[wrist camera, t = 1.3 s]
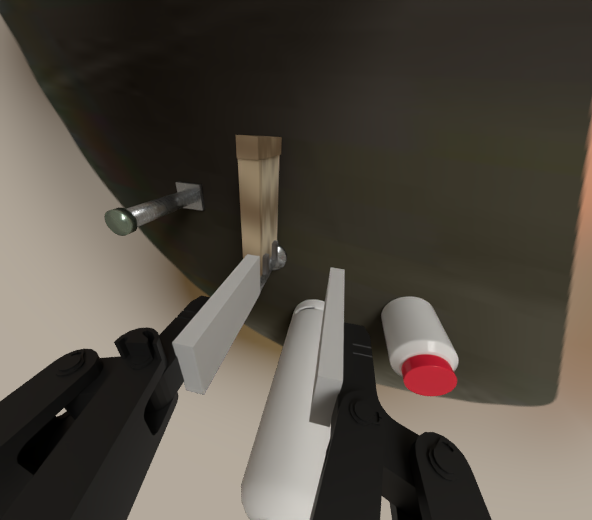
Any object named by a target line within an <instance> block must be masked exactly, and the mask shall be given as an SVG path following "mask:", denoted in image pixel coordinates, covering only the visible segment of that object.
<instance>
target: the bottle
mask: <svg viewBox="0 0 592 520" xmlns="http://www.w3.org/2000/svg"><path fill="white" fill-rule="evenodd" d="M324 304H325V302H324V301H320V300H306V301H303V302H301V303H300V304H299V305H297V306H296V308H295V310H294V312H293V316H292V320H291V322H290V326H289V329H288V332H287V335H286V339H285V342H284V345H283V349H282V352H281V355H280V359H279V362H278V365H277V369H276V372H275V375H274V378H273V382H272V385H271V389H270V392H269V395H268V398H267V402H266V405H265V409H264V411H263V415H262V418H261V422H260V425H259V428H258V432H257V435H256V438H255V442H254V445H253V448H252V451H251V454H250V458H249V462H248V464H247V468H246V471H245V474H244V478H243V481H242V484H241V488H242V489H241V493H242V494H241V497H242V504H243V506H244V509H245V512H246V514H247V515H248V517H249V519H250V520H310V516H311V512H312V507H313V503H314V499H315V495H316V491H317V487H318V483H319V479H320V475H321V471H322V467H323V463H324V459H325V455H326V450H327V447H328V443H329V440H330V433H331V425H330V427H327V426H323V425H319V424H315V423H311V422H309V417H310V410H311V402H312V395H313V387H314V379H315V372H316V364H317V356H318V349H319V341H320V334H321V326H322V318H323V311H324ZM313 307H314V309H305V308H313ZM302 309H305V310H302ZM300 310H301V311H300Z"/></svg>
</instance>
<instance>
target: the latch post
mask: <svg viewBox="0 0 592 520" xmlns="http://www.w3.org/2000/svg"><path fill="white" fill-rule="evenodd" d="M176 187H177V193H174V194H171V195H168V196H165V197H162V198H158V199H155V200H152V201H149V202H146V203H143V204H140V205H136V206H133V207H130V208H127V209H125V208H116V209H113V210H110V211H107V212H106V213H105V222H106V224H107V226H108V227H109V228H110V229H111V230H112V231H113V232H114V233H116V234H117V235H121V236H125V235H127V234H130V233H132V232H134V231H136V229H137V227H138V226H141V225H143V224H145V223H148V222H150V221H152V220H155V219H157V218H159V217H162V216H164V215H167V214H169V213H171V212H174V211H176V210H178V209H181V208H188V209H195V210H205V206H204V198H203V191H202V184H195V183H187V182H176Z"/></svg>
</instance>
